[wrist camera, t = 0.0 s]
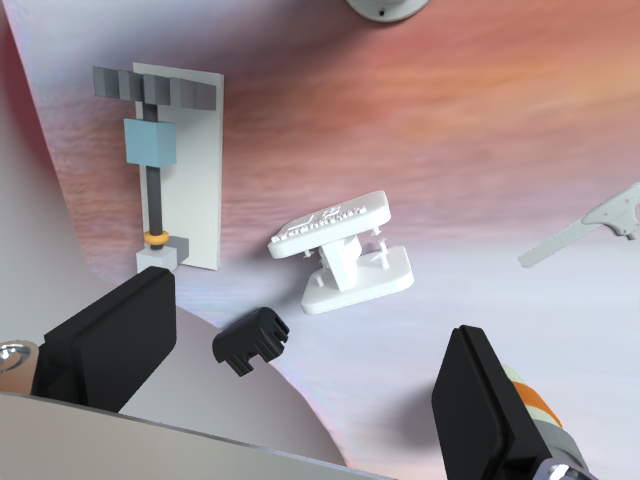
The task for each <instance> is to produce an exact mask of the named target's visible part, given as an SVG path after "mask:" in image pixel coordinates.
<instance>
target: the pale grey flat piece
mask: <svg viewBox="0 0 640 480" xmlns="http://www.w3.org/2000/svg"><path fill="white" fill-rule="evenodd" d="M639 203H640V181H639V182H637V183H636V184H634V185H633V186H631V187H630V188H628V189H626V190H624V191H622V192H620V193H618V194H617V195H615V196H613V197H611V198H610V199H608V200H606V201H605V202H603V203H602V204H600V205H599V206H597V207H596V208H594V209H593V210H591V211H590V212H589V213H587V214H586V215H585V216H584V217H582V218H581V219H579V220H577V221H576V222H574V223H573V224H571V225H569V226H568V227H566V228H565V229H563V230H562V231H560V232H558V233H557V234H555V235H554V236H552V237H550V238H549V239H547V240H546V241H544V242H543V243H541V244H539V245H538V246H536V247H535V248H533V249H532V250H530V251H528V252H527V253H525V254H524V255H522V256H520V257H519V258H517V259H518V260H519V261H520V263H521V264H522V265H523V266H524V267H526V268H528V267H531V266H533V265H535V264H537V263H538V262H540V261H542V260H543V259H545V258H547V257H548V256H550V255H552V254H554V253H555V252H557V251H559V250H560V249H562V248H564V247H566V246H567V245H569V244H571V243H572V242H574V241H576V240H578V239H579V238H581V237H583V236H584V235H586V234H588V233H589V232H591V231H593V230H595V229H596V228H598V227H600V226H601V225H603V224H606V225H609V226H611V227H612V228H613V229H614V230H615V231H616V232H617V234H619V235H621V236H625V235H628V237H629V238H630V239H631V240H635V239H637V238H638V236H637V234H636V233H635V230H637V229H638V228H639V222H638V221H637V220H636V218H635V214H634V209H635V206H636V205H637V204H639Z"/></svg>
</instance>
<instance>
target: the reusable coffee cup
mask: <svg viewBox="0 0 640 480" xmlns="http://www.w3.org/2000/svg"><path fill="white" fill-rule="evenodd" d="M501 365H502V367H503V369H504V371H505V373H506V375H507V376H508V378H509V379H510V380H511V381H512V382H513V384H514V386H515V388H516V390H517V392H518V393H519V395H520V397H521V399H522V401H523V403H524V405H525V406H526V408H527V410H528V412H529V414H530V416H531V418H532V419H533V421H534V423H535V425H536V427H537V429H538V431H539V432H540V434H541V436H542V438H543V440H544V442H545V444H546V445H547V447H548V449H549V451H550V453H551V455H552V457H553V458H559V459H564V460H567V461H569V462H572V463H575V464H576V465H578V466H580V467H582V468H583V469H585V470H587V471H588V472H589V469H588V467H587V465H586V463H585V461H584V459H583V457H582V455H581V453H580V451H579V449H578V447H577V445H576V443H575V441H574V439H573V438H572V437H571V436H570V435H569V434H568V433H567V432H566V431H564V430H563V428H562V425H561V423H560V421H559V420H558V418H557V417H556V416H555V415H554V413H553V412H552V411H551V410H550V409H549V407H548V406H547V405H546V404H545V402H544V401H543V400H542V399H541V398H540V396H539V395H538V394H537V393H536V392H535V391H534V390H533V389H531V388H530V387H528V386H527V385H526V384H525V382H524V381H523V380H522V379H521V377H520V376H519V375H518V374H517V373H516V371H515V370H514V369H512V368H511V367H509V366H507V365H505V364H502V363H501Z"/></svg>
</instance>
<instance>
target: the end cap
mask: <svg viewBox="0 0 640 480" xmlns="http://www.w3.org/2000/svg"><path fill="white" fill-rule="evenodd" d="M288 333H289V328H288V327H287V326H286V325H285V323H284V322H283V321H282V320H281V319H280V317H279V316H278V315H277V314H276V313H275V312H274V311H273V310H272V309H270V308H268V307H262V308H260V309H258V310H257V311H255V312H254V313H252V314H250V315H249V316H247V317H245V318H244V319H242V320H241V321H239V322H237V323H236V324H234V325H232V326H231V327H229V328H228V329H226V330H224V331H223V332H221V333H219V334H218V335H217V336H216V337H215V338H214V340H213V345H212V348H213V354H214V356H215V358H216V360H217V361H218V363H221V362H223V361H224V360H225V361H226V362H227V363H228V364H229V365H230V366H231V367H232V369H233V370H234V371H235V372H236V373H237V374H238V375H239V376H240V377H241V376H243V375H245V374H247V373H249V372H251V371H253V367H252V366H251V365H250V364H249V363H248V361H249V359H250V358H252V357H254V356H255V355H257V354H259V355H260V356H261V357H262V358H263V359H264V361H265V362H266V363H267V362H269V361H271V360H273V359H275V358H277V357H278V356H280V355H281V354H282V353H283V350H284V348H285V347H284V346H283V345H282V344H281V342H280V341H283V342H284V343H286V342H287V340H288V336H287V334H288Z"/></svg>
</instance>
